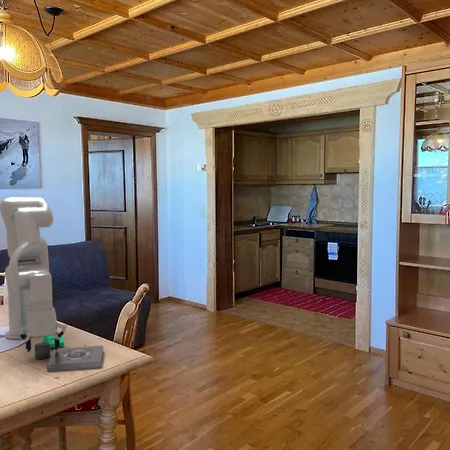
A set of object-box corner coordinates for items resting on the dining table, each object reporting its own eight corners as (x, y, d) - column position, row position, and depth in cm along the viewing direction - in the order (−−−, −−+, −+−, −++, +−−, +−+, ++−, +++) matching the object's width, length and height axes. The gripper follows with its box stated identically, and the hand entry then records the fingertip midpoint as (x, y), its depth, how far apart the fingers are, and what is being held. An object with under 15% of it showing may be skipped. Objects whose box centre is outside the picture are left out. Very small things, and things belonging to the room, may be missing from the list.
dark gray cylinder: (36, 355, 170) (36, 342, 169) (51, 354, 171) (51, 342, 170) (33, 360, 164) (33, 347, 164) (49, 359, 166) (48, 346, 165)
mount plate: (54, 354, 170) (54, 348, 170) (103, 351, 174) (103, 345, 174) (47, 371, 155) (47, 364, 155) (100, 367, 159) (100, 361, 158)
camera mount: (64, 348, 178) (63, 323, 177) (43, 351, 174) (43, 325, 174) (61, 339, 188) (61, 315, 188) (42, 341, 185) (42, 317, 184)
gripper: (14, 309, 160) (15, 355, 161) (64, 306, 164) (65, 351, 165) (19, 304, 168) (20, 348, 169) (67, 301, 171) (68, 345, 172)
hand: (43, 349), depth 167 cm, fingers open, 9 cm apart
